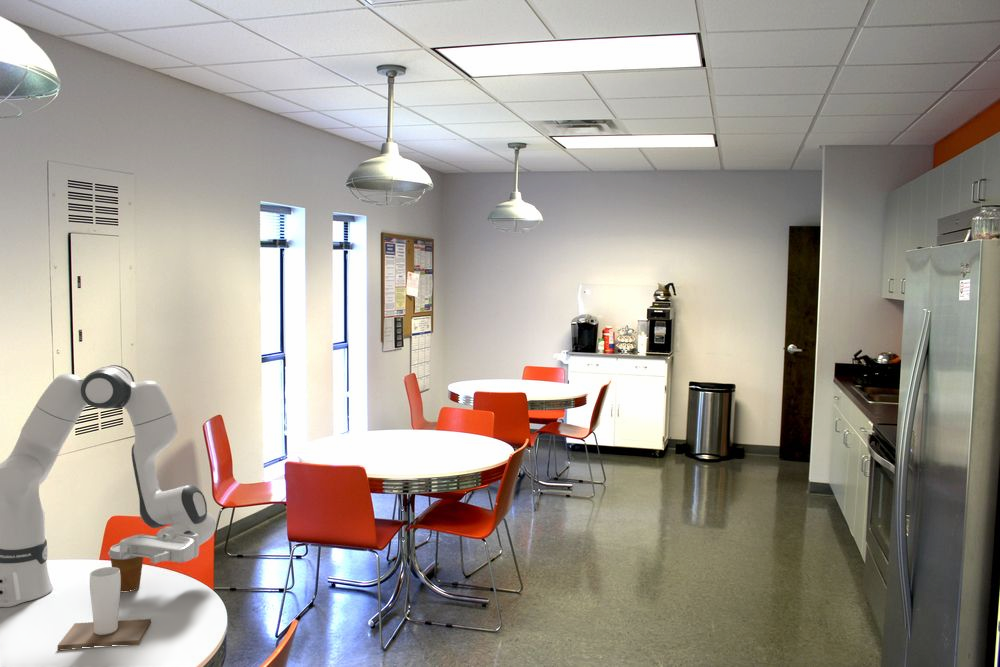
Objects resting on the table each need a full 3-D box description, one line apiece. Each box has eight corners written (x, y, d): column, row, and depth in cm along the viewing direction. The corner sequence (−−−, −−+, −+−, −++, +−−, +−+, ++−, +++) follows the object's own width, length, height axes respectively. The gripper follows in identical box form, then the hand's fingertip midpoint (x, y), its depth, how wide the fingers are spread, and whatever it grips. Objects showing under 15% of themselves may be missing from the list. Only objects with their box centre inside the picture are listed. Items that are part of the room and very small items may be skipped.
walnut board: (57, 650, 183) (57, 645, 183) (74, 627, 195) (74, 623, 195) (139, 644, 187) (139, 639, 187) (151, 623, 198) (151, 618, 198)
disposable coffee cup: (104, 595, 215) (104, 553, 214) (113, 582, 224) (113, 542, 223) (142, 593, 217) (141, 551, 216) (149, 580, 226) (148, 540, 225)
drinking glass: (108, 639, 187) (107, 578, 186) (84, 635, 188) (83, 575, 187) (127, 626, 193) (126, 568, 192) (103, 623, 195) (102, 565, 194)
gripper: (140, 526, 218) (103, 541, 204) (203, 534, 213) (170, 550, 199) (139, 548, 218) (103, 564, 205) (203, 557, 213) (170, 574, 200)
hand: (137, 557), depth 202 cm, fingers open, 8 cm apart
